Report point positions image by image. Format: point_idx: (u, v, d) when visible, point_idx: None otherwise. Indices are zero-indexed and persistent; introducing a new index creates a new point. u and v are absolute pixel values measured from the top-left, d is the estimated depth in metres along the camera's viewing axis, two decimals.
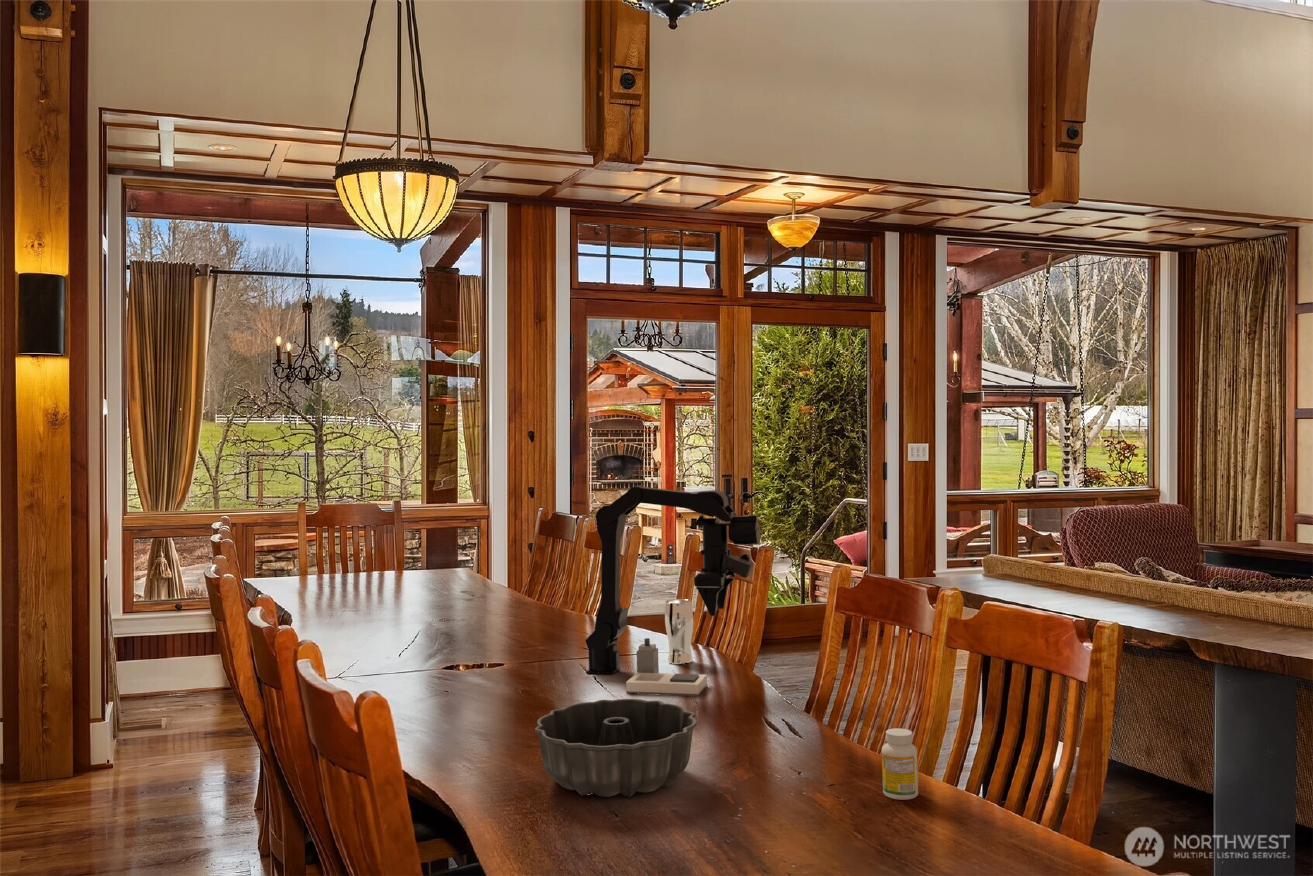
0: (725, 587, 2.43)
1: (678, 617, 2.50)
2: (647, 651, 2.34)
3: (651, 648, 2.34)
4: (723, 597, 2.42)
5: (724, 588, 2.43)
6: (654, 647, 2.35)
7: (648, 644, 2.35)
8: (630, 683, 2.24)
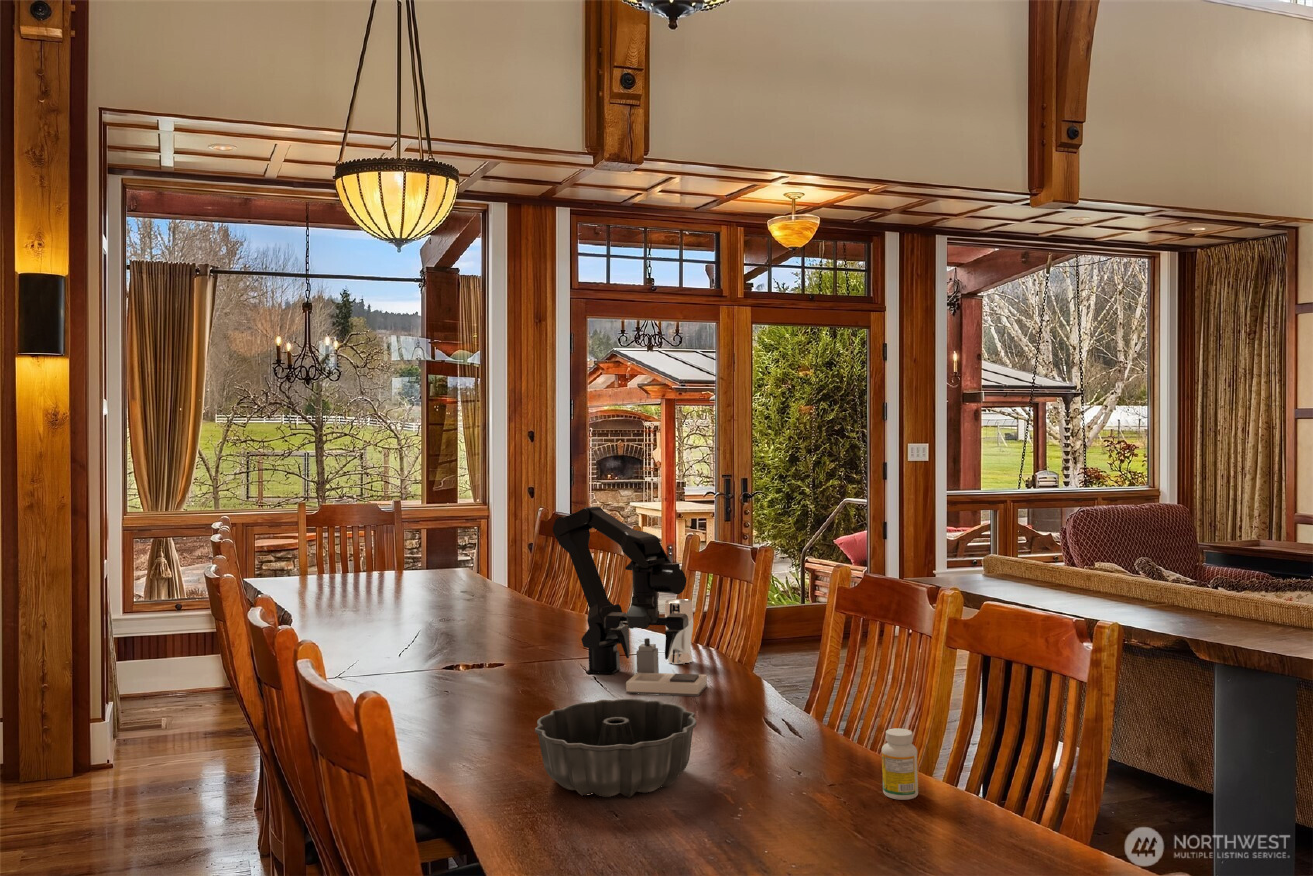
0: None
1: None
2: (647, 651, 2.34)
3: (651, 648, 2.34)
4: None
5: (666, 639, 2.33)
6: (654, 647, 2.35)
7: (648, 644, 2.35)
8: (630, 683, 2.24)
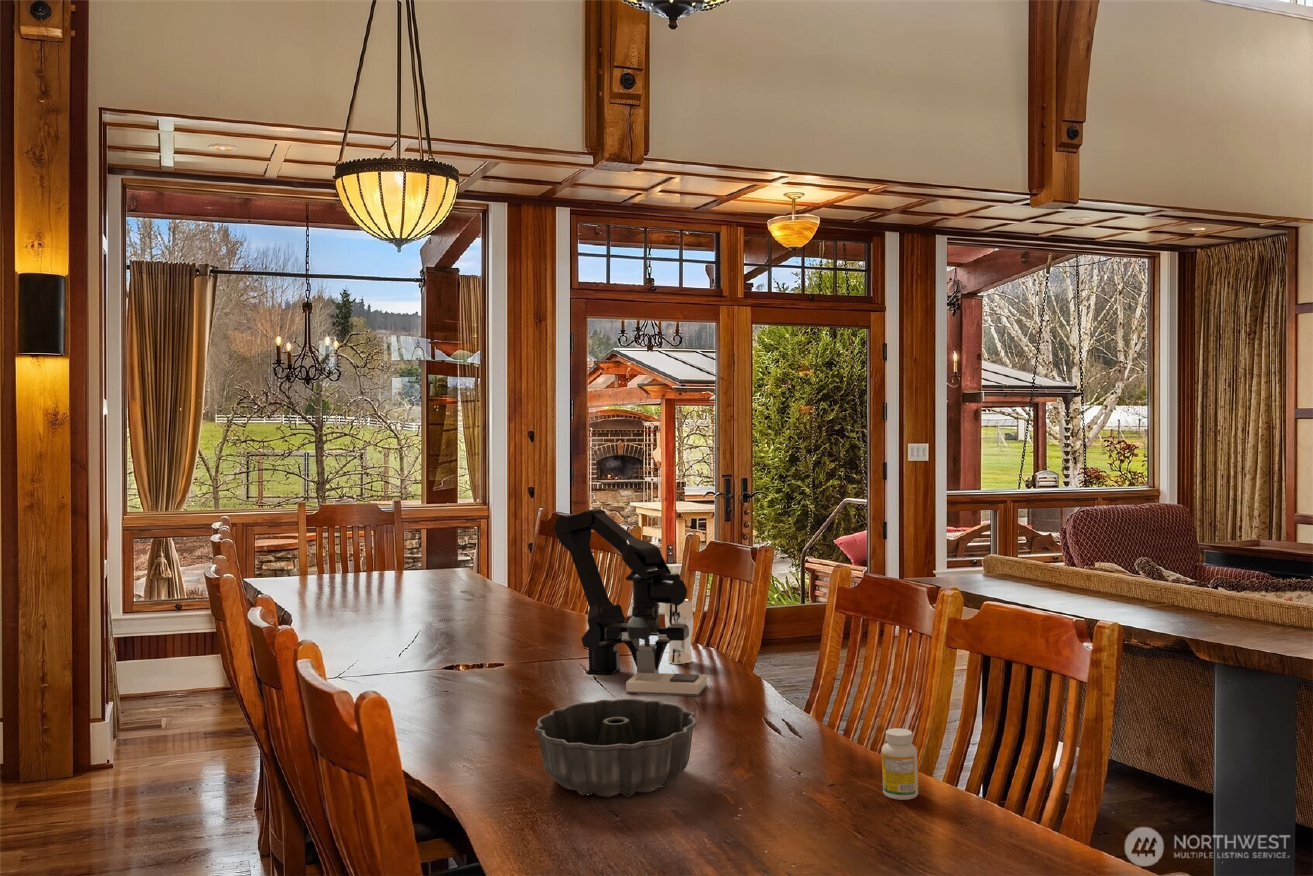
0: None
1: (678, 617, 2.50)
2: (647, 651, 2.34)
3: (651, 648, 2.34)
4: None
5: None
6: (654, 647, 2.35)
7: (648, 644, 2.35)
8: (630, 683, 2.24)
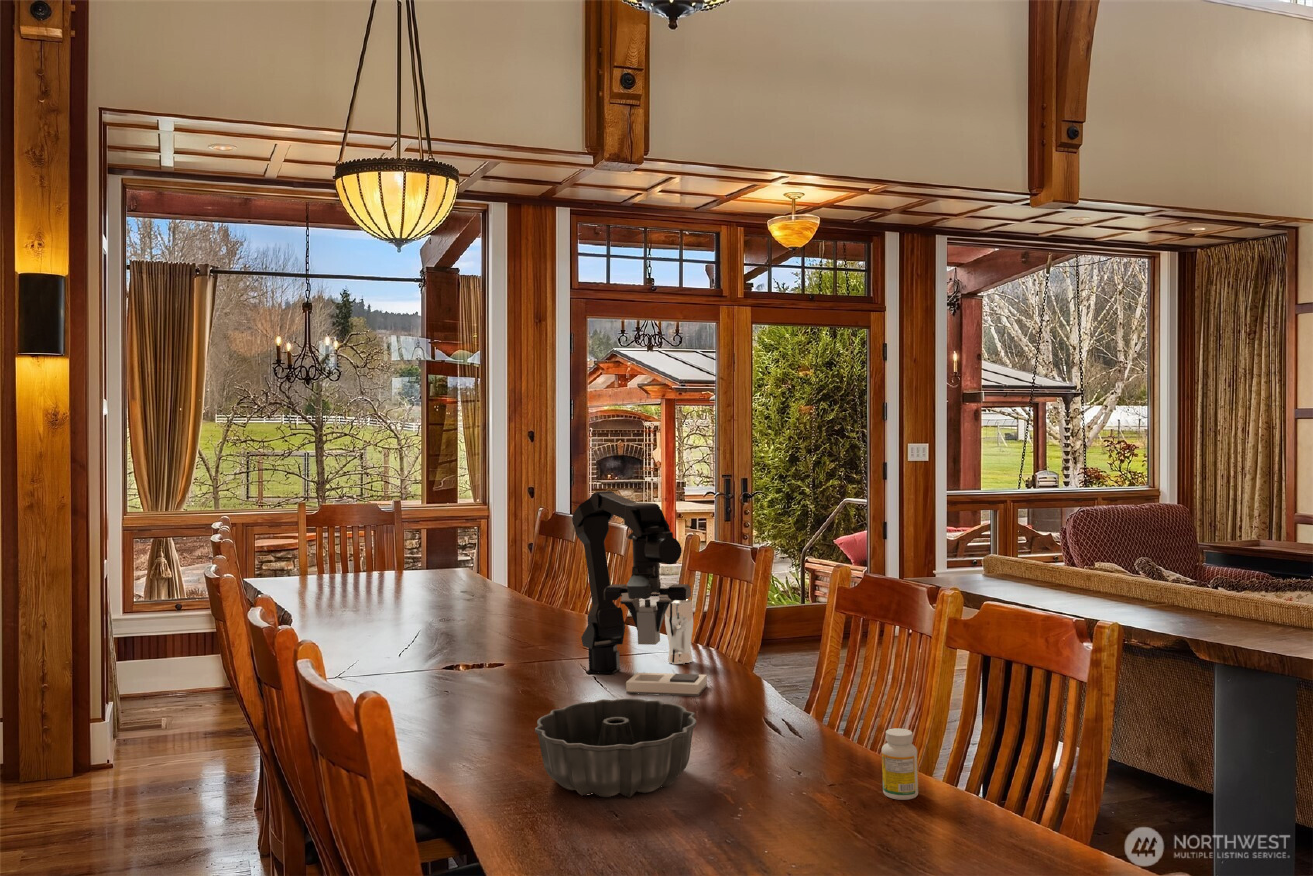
0: None
1: (678, 617, 2.50)
2: (648, 612, 2.26)
3: (652, 609, 2.26)
4: None
5: None
6: (655, 608, 2.27)
7: (649, 605, 2.27)
8: (630, 683, 2.24)
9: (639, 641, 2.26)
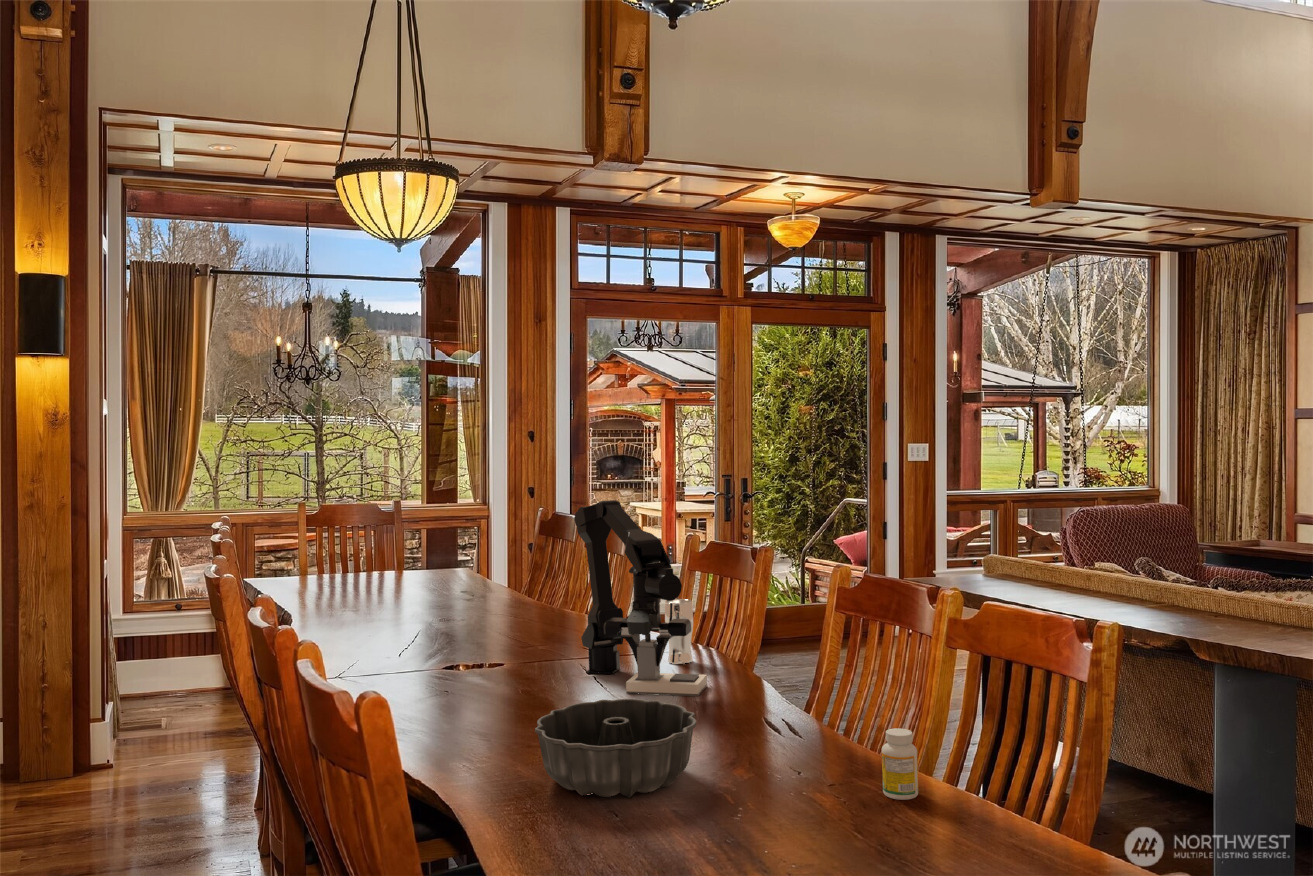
0: None
1: (678, 617, 2.50)
2: (648, 647, 2.25)
3: (652, 644, 2.25)
4: None
5: None
6: (655, 643, 2.27)
7: (649, 639, 2.27)
8: (630, 683, 2.24)
9: (639, 676, 2.26)
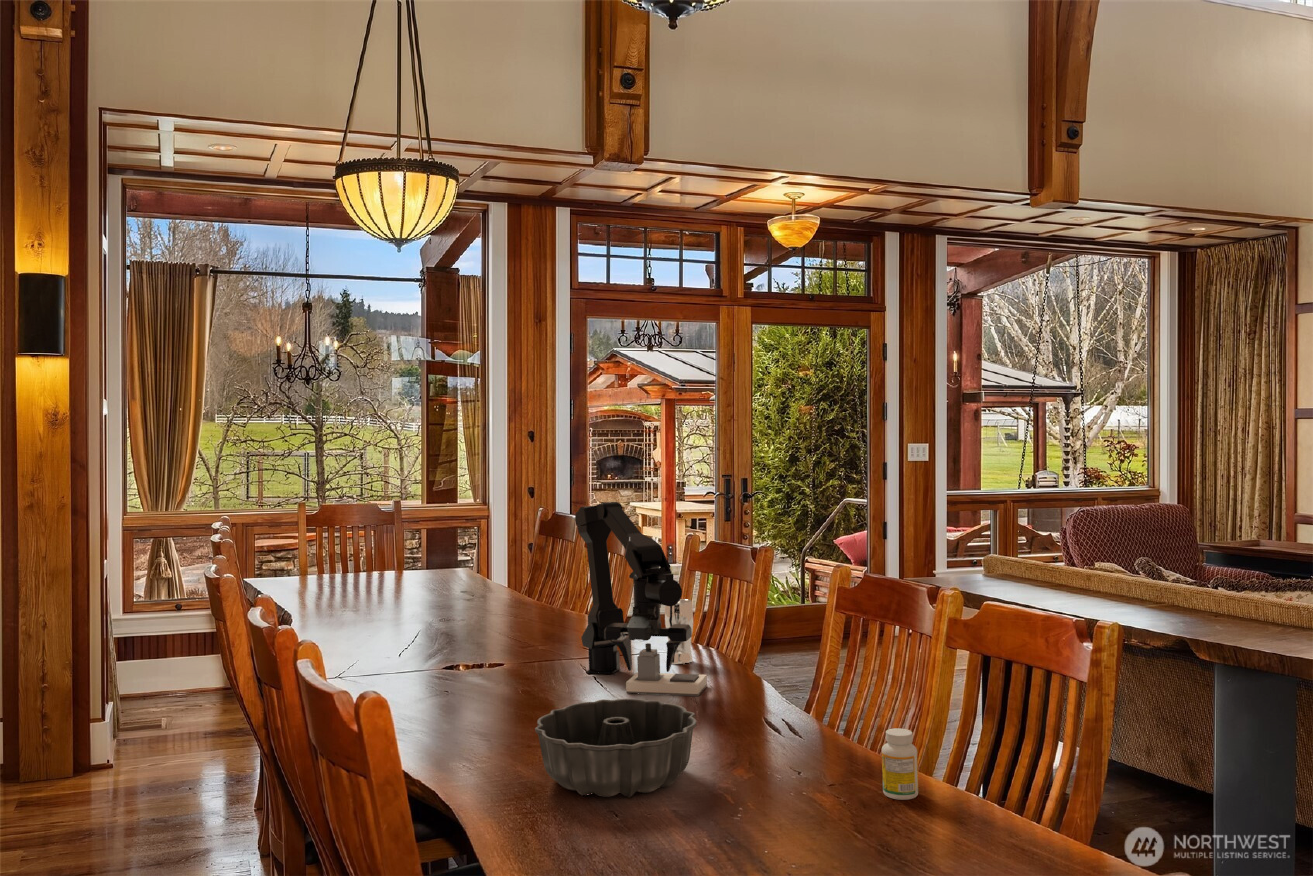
0: None
1: (678, 617, 2.50)
2: (648, 657, 2.25)
3: (652, 653, 2.25)
4: (666, 660, 2.25)
5: None
6: (655, 652, 2.27)
7: (649, 649, 2.27)
8: (630, 683, 2.24)
9: None
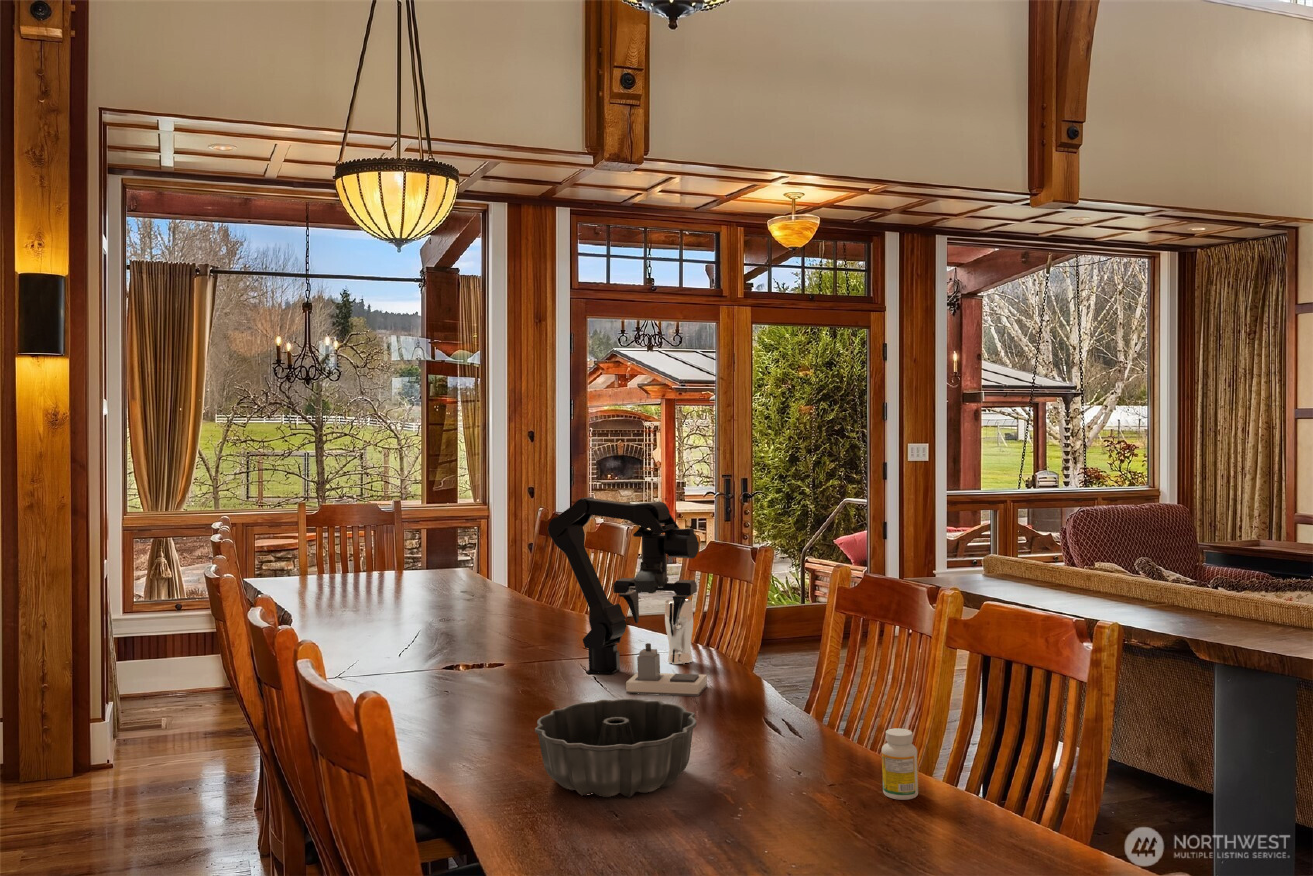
0: None
1: (678, 617, 2.50)
2: (648, 657, 2.25)
3: (652, 653, 2.25)
4: None
5: None
6: (655, 652, 2.27)
7: (649, 649, 2.27)
8: (630, 683, 2.24)
9: None
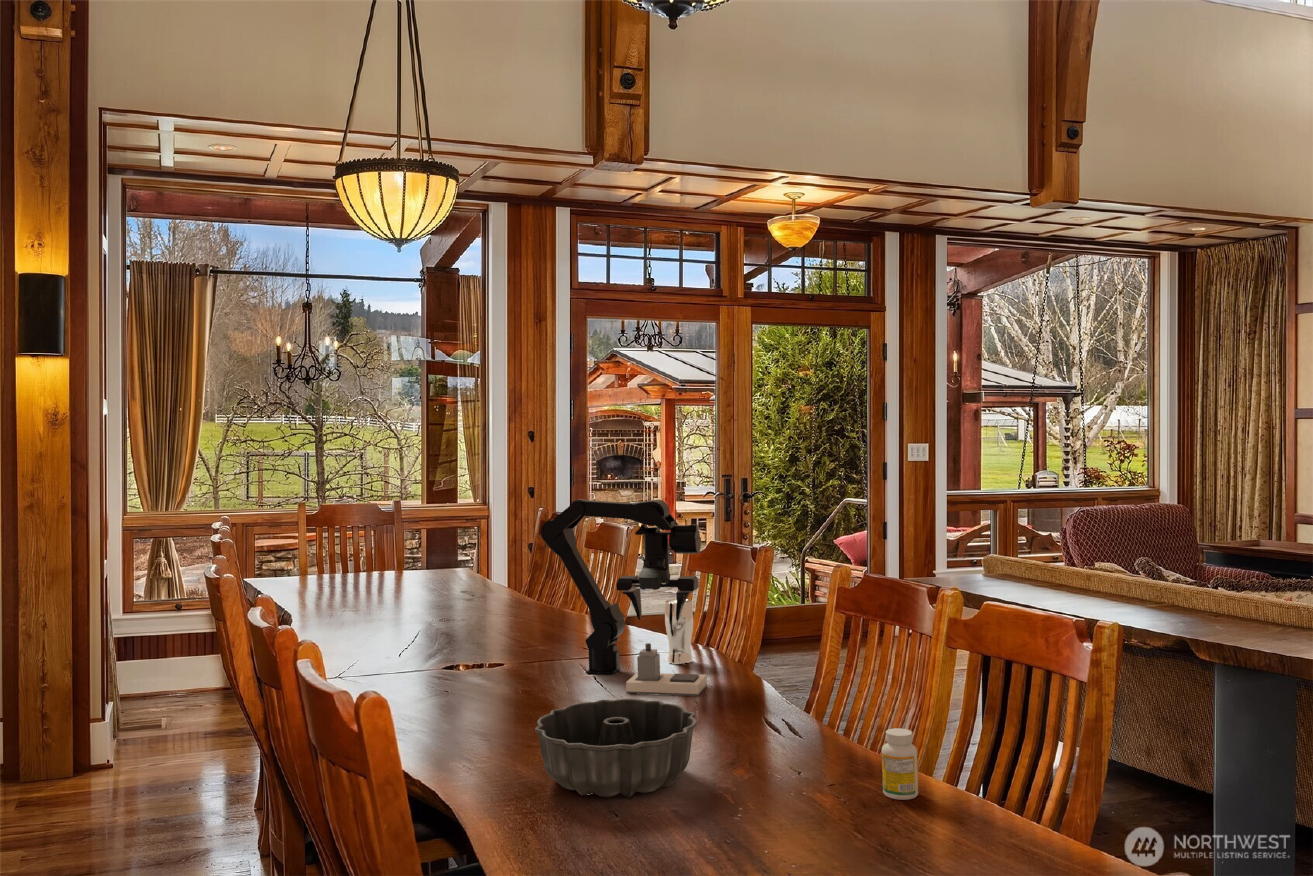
0: None
1: None
2: (648, 657, 2.25)
3: (652, 653, 2.25)
4: None
5: (677, 600, 2.40)
6: (655, 652, 2.27)
7: (649, 649, 2.27)
8: (630, 683, 2.24)
9: None
